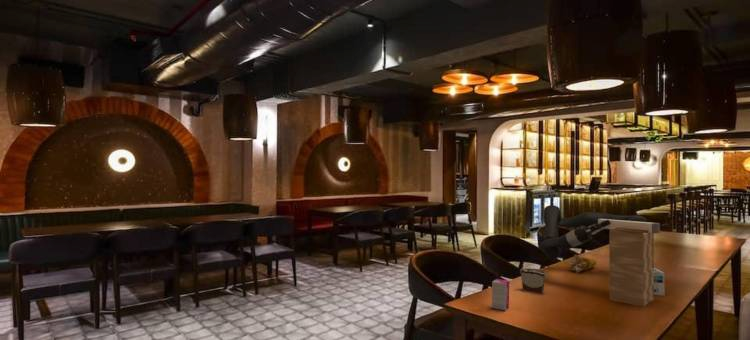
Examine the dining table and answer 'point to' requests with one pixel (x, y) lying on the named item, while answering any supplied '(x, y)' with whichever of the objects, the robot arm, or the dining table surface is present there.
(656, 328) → the dining table surface
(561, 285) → the dining table surface
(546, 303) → the dining table surface
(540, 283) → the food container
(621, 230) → the stand
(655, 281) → the light bulb box
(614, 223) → the bar
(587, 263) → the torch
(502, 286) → the supplement box
